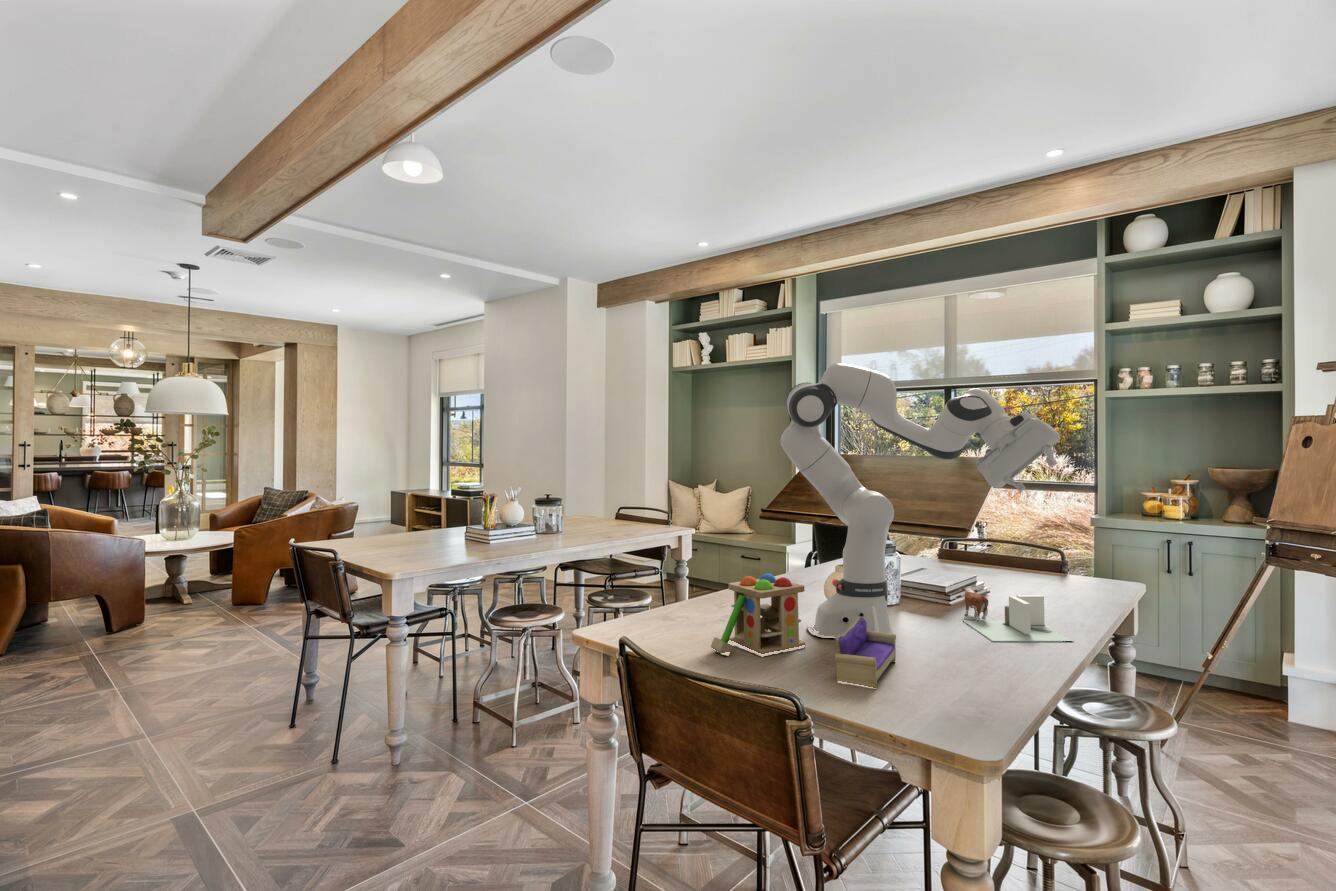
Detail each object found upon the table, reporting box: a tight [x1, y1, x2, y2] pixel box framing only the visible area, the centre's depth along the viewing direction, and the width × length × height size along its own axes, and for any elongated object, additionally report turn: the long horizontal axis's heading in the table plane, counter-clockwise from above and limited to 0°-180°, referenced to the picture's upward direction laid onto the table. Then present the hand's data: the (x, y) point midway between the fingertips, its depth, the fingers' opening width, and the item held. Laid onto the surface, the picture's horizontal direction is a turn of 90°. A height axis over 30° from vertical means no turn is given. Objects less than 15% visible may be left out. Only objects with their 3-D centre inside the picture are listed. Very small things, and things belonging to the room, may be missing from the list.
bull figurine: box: [961, 586, 989, 621], centre depth 193 cm, size 4×13×8 cm, turn 174°
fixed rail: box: [1004, 594, 1046, 626], centre depth 183 cm, size 10×2×8 cm, turn 86°
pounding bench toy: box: [710, 572, 806, 654], centre depth 167 cm, size 23×14×18 cm, turn 121°
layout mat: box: [963, 620, 1074, 643], centre depth 178 cm, size 20×20×1 cm
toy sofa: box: [834, 617, 897, 689], centre depth 148 cm, size 21×9×10 cm, turn 149°
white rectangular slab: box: [1008, 595, 1031, 634], centre depth 177 cm, size 9×2×8 cm, turn 176°
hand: (1038, 477), depth 161 cm, fingers open, 8 cm apart
